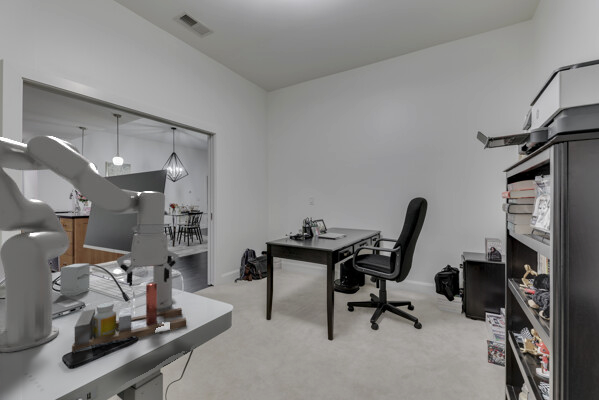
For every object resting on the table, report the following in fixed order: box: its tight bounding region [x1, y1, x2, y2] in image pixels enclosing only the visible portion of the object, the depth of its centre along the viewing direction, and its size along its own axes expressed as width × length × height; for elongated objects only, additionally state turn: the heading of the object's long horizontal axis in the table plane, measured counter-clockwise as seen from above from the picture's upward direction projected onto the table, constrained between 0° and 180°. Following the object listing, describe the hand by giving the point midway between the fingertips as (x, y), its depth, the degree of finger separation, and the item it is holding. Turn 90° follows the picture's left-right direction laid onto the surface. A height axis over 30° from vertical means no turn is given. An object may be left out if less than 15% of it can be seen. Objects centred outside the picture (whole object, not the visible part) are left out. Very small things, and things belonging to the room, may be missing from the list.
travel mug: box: [152, 255, 173, 312], centre depth 98 cm, size 6×7×20 cm
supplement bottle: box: [93, 301, 117, 338], centre depth 77 cm, size 5×5×10 cm
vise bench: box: [71, 307, 187, 353], centre depth 81 cm, size 28×12×7 cm, turn 122°
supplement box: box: [59, 263, 91, 297], centre depth 117 cm, size 7×7×13 cm
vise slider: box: [118, 282, 165, 333], centre depth 82 cm, size 12×7×13 cm, turn 122°
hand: (148, 283), depth 83 cm, fingers open, 9 cm apart
